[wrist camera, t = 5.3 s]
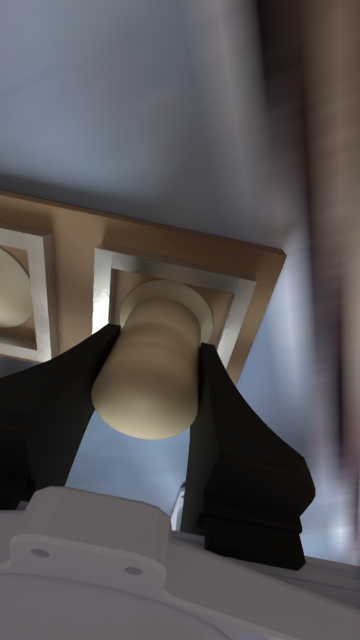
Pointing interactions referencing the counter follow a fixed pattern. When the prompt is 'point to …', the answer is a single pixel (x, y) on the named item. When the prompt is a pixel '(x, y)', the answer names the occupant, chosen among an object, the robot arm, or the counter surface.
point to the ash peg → (152, 372)
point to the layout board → (121, 278)
